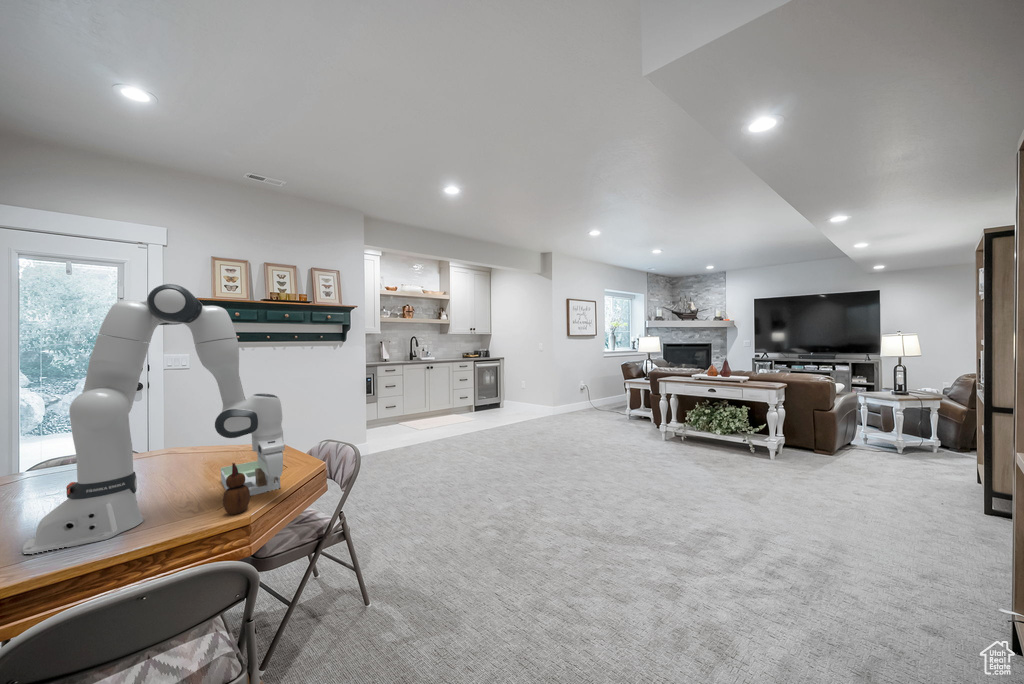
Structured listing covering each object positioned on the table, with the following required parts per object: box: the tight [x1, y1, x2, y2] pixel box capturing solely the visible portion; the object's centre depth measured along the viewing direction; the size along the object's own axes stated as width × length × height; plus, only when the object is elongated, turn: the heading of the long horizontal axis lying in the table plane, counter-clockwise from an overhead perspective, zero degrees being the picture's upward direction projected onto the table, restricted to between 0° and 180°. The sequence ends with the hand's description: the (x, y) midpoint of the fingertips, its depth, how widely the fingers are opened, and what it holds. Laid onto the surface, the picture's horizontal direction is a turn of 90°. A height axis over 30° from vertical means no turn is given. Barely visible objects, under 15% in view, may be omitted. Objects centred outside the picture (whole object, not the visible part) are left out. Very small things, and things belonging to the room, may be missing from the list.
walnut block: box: [255, 468, 275, 487], centre depth 141 cm, size 5×5×5 cm
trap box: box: [220, 460, 281, 497], centre depth 147 cm, size 14×28×5 cm, turn 41°
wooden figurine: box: [222, 462, 251, 515], centre depth 122 cm, size 7×6×15 cm
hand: (270, 485), depth 135 cm, fingers closed
